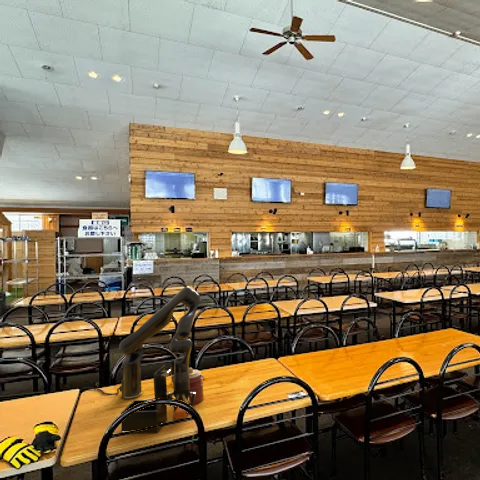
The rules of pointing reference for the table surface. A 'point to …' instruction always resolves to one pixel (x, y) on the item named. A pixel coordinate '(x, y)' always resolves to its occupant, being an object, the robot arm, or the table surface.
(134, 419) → the trash bin
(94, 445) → the table surface
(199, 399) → the kitchen canister
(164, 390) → the bin lid
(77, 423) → the table surface
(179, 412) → the block
